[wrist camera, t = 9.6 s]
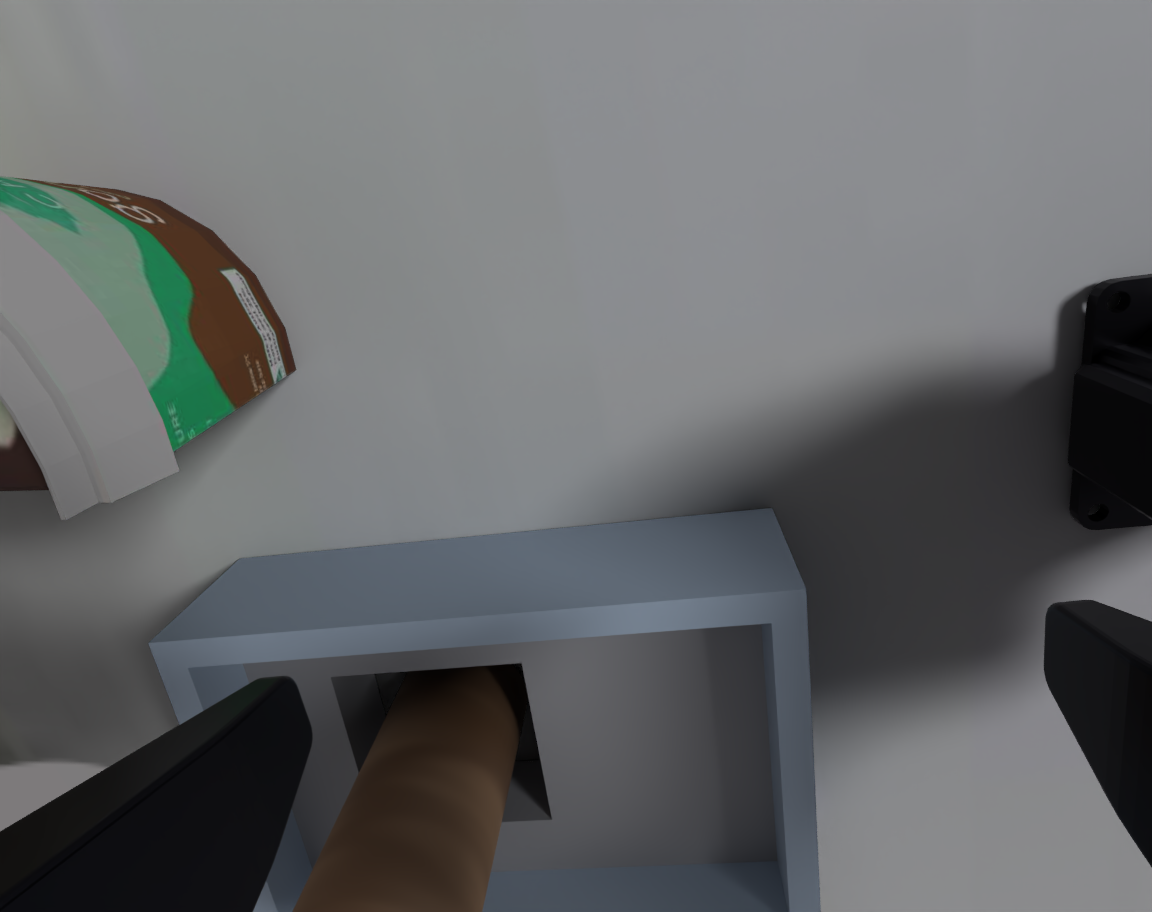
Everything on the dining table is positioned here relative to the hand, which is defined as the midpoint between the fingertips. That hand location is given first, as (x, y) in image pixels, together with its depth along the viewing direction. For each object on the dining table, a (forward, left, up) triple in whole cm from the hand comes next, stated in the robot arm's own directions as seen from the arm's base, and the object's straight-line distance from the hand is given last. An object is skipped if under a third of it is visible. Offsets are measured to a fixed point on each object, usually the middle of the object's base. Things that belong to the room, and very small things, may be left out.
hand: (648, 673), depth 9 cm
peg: (+7, +9, -12) cm, 16 cm away
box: (+5, +9, -12) cm, 16 cm away
